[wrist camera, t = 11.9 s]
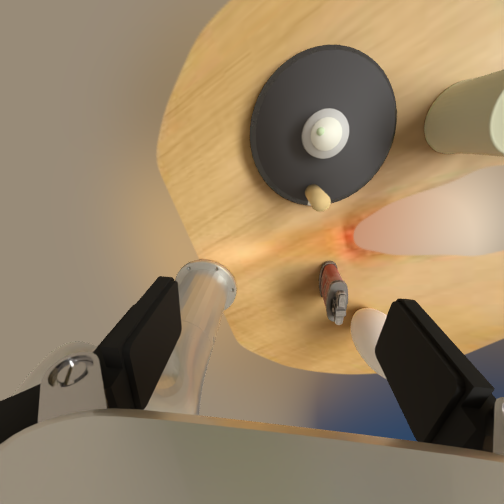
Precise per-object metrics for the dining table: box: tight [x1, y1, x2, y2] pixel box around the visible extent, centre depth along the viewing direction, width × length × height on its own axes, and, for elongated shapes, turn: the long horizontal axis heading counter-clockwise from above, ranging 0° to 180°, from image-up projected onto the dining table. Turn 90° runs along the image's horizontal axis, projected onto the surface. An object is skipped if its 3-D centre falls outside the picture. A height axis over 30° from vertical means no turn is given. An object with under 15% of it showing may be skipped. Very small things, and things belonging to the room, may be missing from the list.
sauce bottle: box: [351, 308, 387, 379], centre depth 41 cm, size 8×8×18 cm
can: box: [424, 70, 504, 156], centre depth 28 cm, size 9×9×12 cm
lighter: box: [319, 261, 348, 325], centre depth 42 cm, size 8×3×10 cm, turn 3°
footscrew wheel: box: [256, 50, 395, 212], centre depth 31 cm, size 19×19×8 cm
